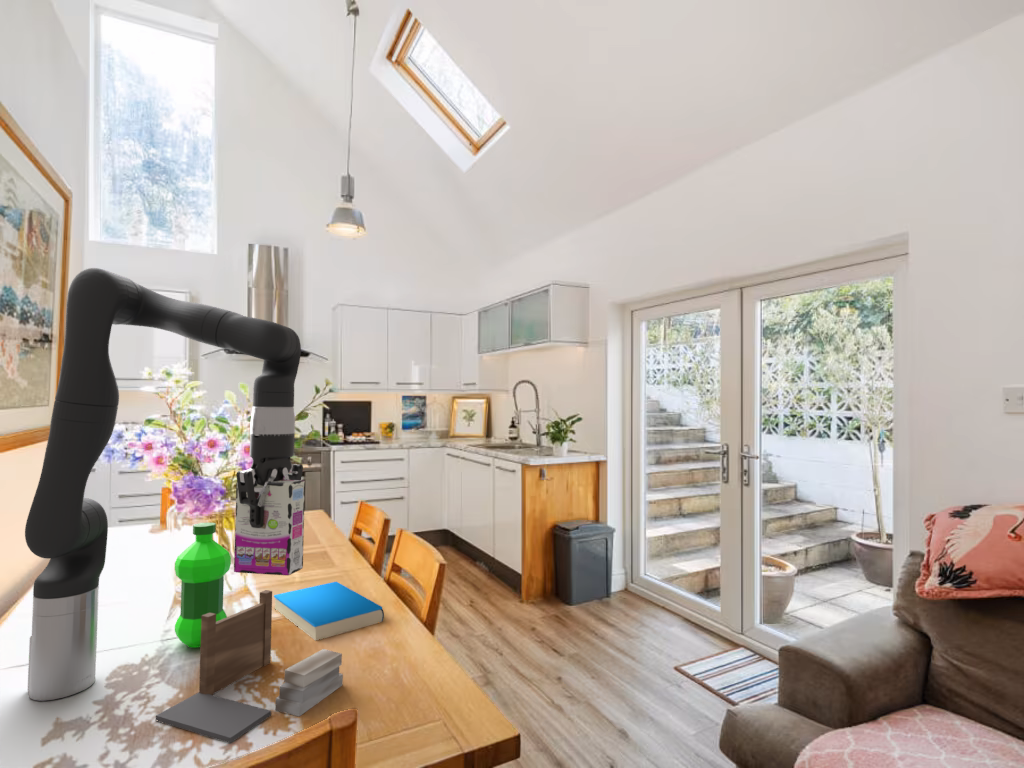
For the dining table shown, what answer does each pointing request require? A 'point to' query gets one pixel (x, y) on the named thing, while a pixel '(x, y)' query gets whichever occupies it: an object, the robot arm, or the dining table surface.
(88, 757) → the dining table surface
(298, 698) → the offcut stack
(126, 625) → the dining table surface
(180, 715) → the mat
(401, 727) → the dining table surface
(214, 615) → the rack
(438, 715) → the dining table surface
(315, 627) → the book
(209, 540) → the plastic bottle
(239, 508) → the candy bar box
